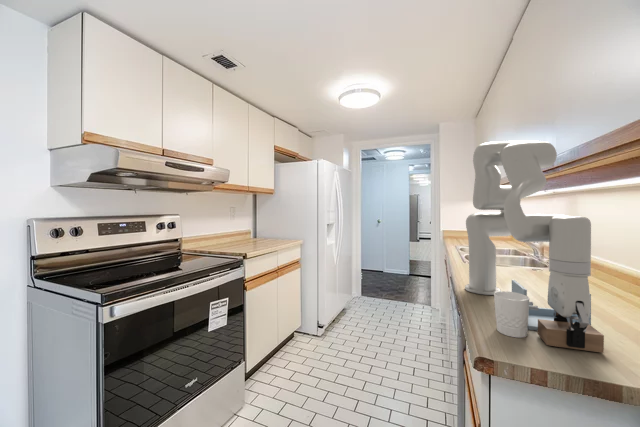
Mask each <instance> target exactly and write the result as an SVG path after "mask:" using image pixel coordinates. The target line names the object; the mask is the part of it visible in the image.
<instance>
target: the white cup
mask: <svg viewBox="0 0 640 427" xmlns="http://www.w3.org/2000/svg"><path fill="white" fill-rule="evenodd" d="M493 297H494V298H493V300H494V302H493V303H494V315H495V321H496V322H495V323H496V330H497V332H499V333H500V334H502V335H504V336H506V337H507V336H508V337H510V338H511V337H512V338H517V339H518V338H519V339H520V338H526V337H527V336H528V329H527V326H528V318H529V301H530V299H531V298H530V297H529V296H528V295H527V296H526V295H523V294H520V293H515V292H512V291H508V290H507V291H503V290H501V291H499V292H495V293H494V295H493Z"/></svg>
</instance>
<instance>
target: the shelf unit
mask: <svg viewBox="0 0 640 427" xmlns="http://www.w3.org/2000/svg"><path fill="white" fill-rule="evenodd" d="M511 292H515V293H520V294H523V295H526V296H528V289H527V288H525V286H523V285H522V284H520V283H519V282H518V281H517V280H515V279H511ZM553 313H554V309H553V308H551V307H550V308H548V307H538V305H534V302H533V301H531V300H529V318H528V326H527V330H528V331H529V330H531V331H538V319H542V320H551V321H554V318H557V317H554V315H553ZM572 316H573V317H578V315H577V314H572ZM566 319H567V318H566ZM588 319H589V325H591V326H592V294H591V293H590V316H589V318H588ZM572 321H573V323H575V322H578V320H574V319H572Z"/></svg>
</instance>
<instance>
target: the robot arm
mask: <svg viewBox="0 0 640 427" xmlns="http://www.w3.org/2000/svg"><path fill="white" fill-rule="evenodd" d="M557 154H558V153H557V149H556V147H555V146H554V145H553V144H552V143H550V142H548V141H543V140H542V141H541V140H540V141H539V140H508V141H507V140H506V141H505V140H503V141H489V142H484V143H480V144H479V145H478V146H476V148H475V149H474V152H473V157H472V163H473V168H474V173H475V175H474V176H475V177H474V185H473V194H472V205H473V207H474V208H475V209H476V210H480V211H500V212H474V213H471V214H470V215H468V216H467V217H466V220H465V228H466V231H467V232H466V233H467V239H468V282H469V283H467V284H465V286H464V289H465V290H466V291H467V292H471V293H473V294H477V295H484V296H485V295H486V296H494V293H495V292H499V291H502V290H501V288H499V287H498V286H497V249H496V245H495V243H494V242H493V241H492V240H491V238H490V237H508V236H512V238H514V239H515V240H516V241H518V242H523V243H548V272H549V276H548V277H549V278H548V287H547V304H548V306H549V307H550V309H554V313H553V315H554V317H557V318H554V321H560V322H568V327H569V329H567V345H568V346H569V347H575V348H585V332H586V328H587V326H588V325H589V319H588V318H589V316H590V294H591V293H590V283H589V278H588V277H591V273H592V272H591V271H592V269H591V268H592V267H591V266H592V262H591V260H592V256H591V255H592V223H591V220H590V219H589V218H588V217H585V216H582V215H581V216H579V215H575V216H574V215H566V214H560V213H559V214H557V213H553V214H551V213H550V214H546V213H542V214H541V213H536V214H535V213H534V214H532V213H531V214H530V213H528V214H525V213H524V211H523V208H522V205H521V201H522V199H524V198H526V197H529V196H532V195H533V194H536V193H537V192H540V191H541V190H542V189H544V187H545V186H546V184H547V178H546V176H545V173H544V172H543V169H549V168H551V167H552V166H553V165H554V164H555V162H556V160H557ZM499 166H502V167H503V170H504V173H505V175H506V178H507V180H508V182H509V185H501V181H502V180H501V179H502V174H501V171H500V169H499V168H498V167H499ZM572 314H577V315H578V317H573V316H572ZM566 318H567V319H566ZM572 319H574V320H578V322H575V323H574V324H573V321H572Z"/></svg>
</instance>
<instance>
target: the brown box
mask: <svg viewBox="0 0 640 427" xmlns="http://www.w3.org/2000/svg"><path fill="white" fill-rule="evenodd" d="M573 324H574V323H573ZM567 329H569V327H568V322H560V321H551V320H542V319H538V330H537V336H539V337H540V339H541V340H542V341H543V342H544V343H545V345H546V346H552V347H557V348H558V347H559V348H566V349H572V350H573V349H574V350H580V351H588V352H595V353H600V354H601V353H605V351H604V350H605V344H604V343H605V335H604V334H603V333H601V332H600V331H599V330H597V329H596V328H595V327H594V326H592V324H591V325H588V326H587V328H586V332H585V348H575V347H569V346H568V345H567Z"/></svg>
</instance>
